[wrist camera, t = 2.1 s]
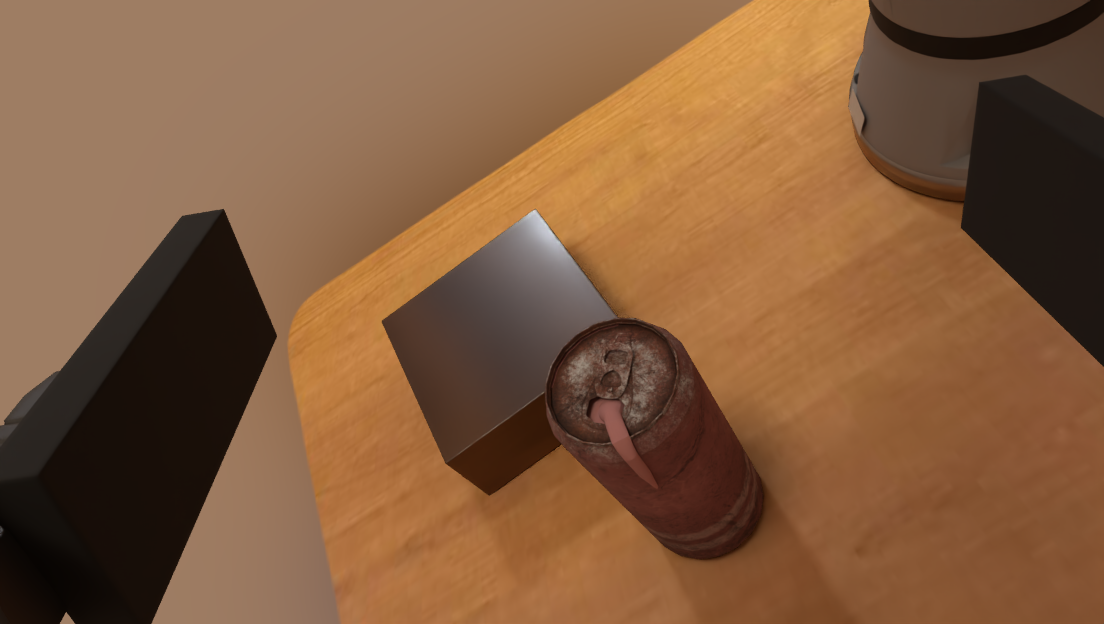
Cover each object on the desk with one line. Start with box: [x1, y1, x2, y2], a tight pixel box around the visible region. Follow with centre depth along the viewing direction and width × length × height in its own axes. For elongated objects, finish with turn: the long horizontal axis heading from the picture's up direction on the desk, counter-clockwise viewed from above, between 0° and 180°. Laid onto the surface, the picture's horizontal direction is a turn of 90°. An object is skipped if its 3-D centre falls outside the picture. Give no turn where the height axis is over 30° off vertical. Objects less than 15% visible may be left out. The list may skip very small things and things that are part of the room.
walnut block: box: [382, 209, 618, 495], centre depth 49 cm, size 12×12×5 cm
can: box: [545, 318, 763, 559], centre depth 36 cm, size 6×6×14 cm
